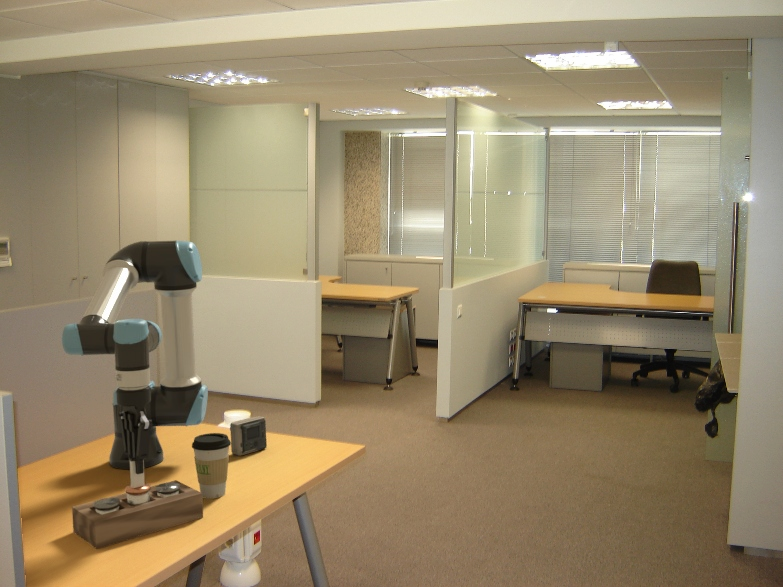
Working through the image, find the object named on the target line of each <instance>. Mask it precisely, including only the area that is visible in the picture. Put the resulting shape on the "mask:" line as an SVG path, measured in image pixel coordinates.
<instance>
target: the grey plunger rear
mask: <svg viewBox="0 0 783 587" xmlns="http://www.w3.org/2000/svg"><path fill="white" fill-rule="evenodd" d="M156 485H157V486H156V492H157V496H159V497H161V498H165V497H169V496H173V495H177V494H179V490H180V484H178V483H174V482H171V481H168V483H167V482H163V483H160V484H156Z"/></svg>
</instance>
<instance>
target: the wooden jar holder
mask: <svg viewBox="0 0 783 587" xmlns="http://www.w3.org/2000/svg"><path fill="white" fill-rule="evenodd" d="M168 482H169V481H168ZM168 482H166V483H168ZM170 482H174V483H178V484H180V490H179V494H177V495H173V496H169V497H165V498H161V497H159V496H157V492H156V486H157V485H158V484H156V485H150V487H151V489H150V491H149V495H150V502H147V503H143V504H139V505H136V506H130V505H129V504H127V493H126V492H124V493H121V494H118V495H113V496H108V497H107V498H118V499H120V505H119V510H117V511H113V512H110V513H106V514H102V515H99V514H97V513H96V509H95V508H94V502H96V501H97V500H94V501H89V502H85V503H82V504H77V505H73V506H72V507H71V515H72V531H73V533H74V534H75V535H77V536H78V537H79V538H81V539H82V540H84V541H85V542H86V543H88V544H89V546H91V547H93V548H95V549H96V550H98V549H102V548H104V547H108V546H109V547H110V546H112V545H114V544H118V543H122V542H126V541H128V540H129V541H130V540H132V539H135V538H138V537H139V538H140V537H142V536H145V535H149V534H152V533H155V532H159V531H163V530H166V529H169V528H172V527H175V526H176V527H177V526H180V525H183V524H186V523H188V522H192V521H197V520H199V519H200V520H201V519H202V518H204V509H203V508H204V504H203V497H202V493H201V492H200V490H199V491H198V490H197V489H196V488H195V489H194V488H193V487H191V486H189V485H187V484H184V483H182V482H180V481H179V480H177V479H176V480H171V481H170Z"/></svg>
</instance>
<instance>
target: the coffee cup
mask: <svg viewBox="0 0 783 587" xmlns="http://www.w3.org/2000/svg"><path fill="white" fill-rule="evenodd" d="M230 447H231V439H230V438H229V436H228V434H225V433H220V432H219V433H218V432H213V433H212V432H211V433H203V434H199V435H196V436H195V437H194V438H193V442H192V443H191V448H192V449H193V453H194V457H193V458H194V463H195V469H196V475H197V477H196V478H197V482H198V485H199V492H201V493H202V499H219V498H221V497H223V496H224V495H226V488H227V481H228V471H229V459H230V454H229V451H230Z"/></svg>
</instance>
